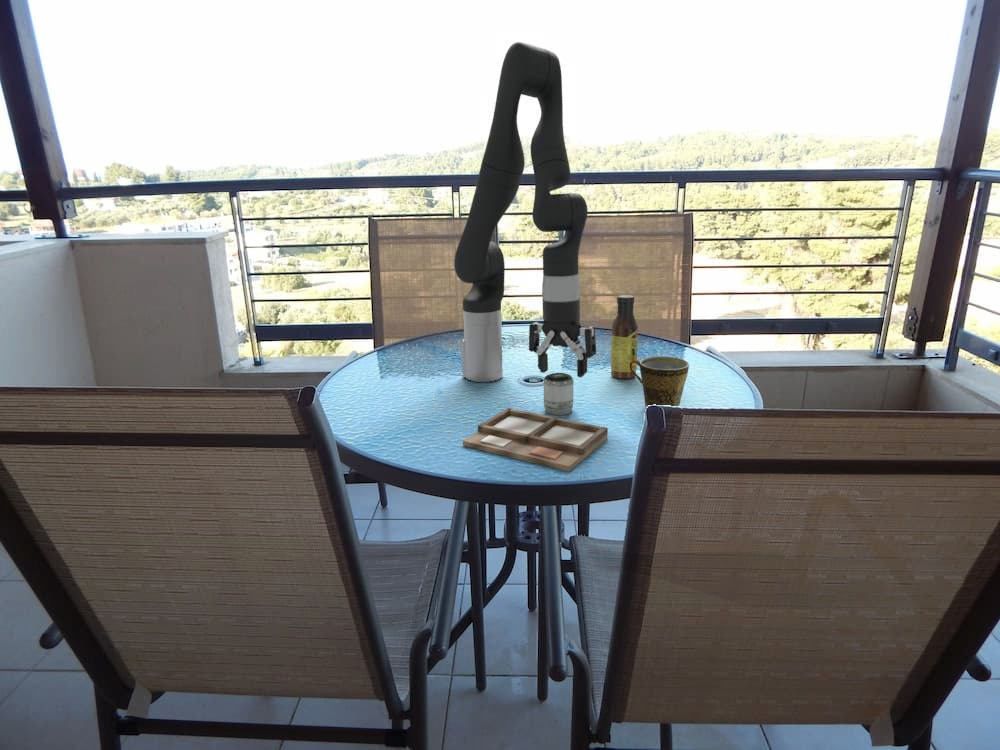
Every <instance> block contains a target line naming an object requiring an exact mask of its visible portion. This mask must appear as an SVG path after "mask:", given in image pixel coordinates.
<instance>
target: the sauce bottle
mask: <svg viewBox="0 0 1000 750" xmlns="http://www.w3.org/2000/svg"><path fill="white" fill-rule="evenodd" d="M616 303H617V311H616V312H617V315H616V317H615V319H614V320H613V322H612V327H611V328H612V330H611V333H612V334H611V349H610V350H611V351H610V370H611V371H610V374H611V376H612V377H613V378H615V379H623V380H625V379H626V380H628V379H632V378H635V377H636V376H635V375H634V374H633V373H632V372H631V370H630V363H631V362H632V361H634V360H638V346H639V345H638V338H639V328H638V324H637V321H636V318H635V315H634V303H635V296H634V295H629V294H621V295H617V297H616ZM637 367H638V365H637V364H636V363H633V364H632V369H633V370H634V372H635V373H636V374H637V370H638V369H637Z"/></svg>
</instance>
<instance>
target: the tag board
mask: <svg viewBox="0 0 1000 750" xmlns="http://www.w3.org/2000/svg"><path fill="white" fill-rule="evenodd" d="M608 430H609V429H608V427H606V426H600V425H595V424H590V423H584V422H580V421H575V420H569V419H565V418H559V417H555V416H549V415H544V414H539V413H536V412H530V411H529V412H528V411H526V410H525V411H524V410H520V409H515V408H509V407H508V408H505V409H504V410H502V411H500V412H499V413H497V414H496V415H494V416H492V417H490V418H488V419H487V420H485V421H484V422H482V423H480V424H478V425H477V431H476V432H475V433H473V434H472V435H470V436H468V437H467V438H464V439H463V440H462V446H464V447H468V448H472V449H474V450H475V449H476V450H479V451H484V452H488V453H490V454H496V455H499V456H504V457H508V458H512V459H516V460H521V461H524V462H529V463H532V464H536V465H540V466H545V467H548V468H549V467H550V468H552V469H557V470H561V471H566V472H568V473H569V472H571V471H572V470H573V469H575V468H576V467H577V466H578V465H580V463H582V462H583V460H584V459H586V458H587V457H588V456H589V455H591V453H593V452H594V451H595V450H596V449H597V448H598V447H600V446H601V445H602V444H603V443H604V442H606V440H608Z"/></svg>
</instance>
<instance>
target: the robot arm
mask: <svg viewBox="0 0 1000 750" xmlns="http://www.w3.org/2000/svg"><path fill="white" fill-rule="evenodd" d="M500 69H501V71H500V76H499V82H498V88H497V93H496V99H495V103H494V104H495V105H494V112H493V117H492V121H491V125H490V130H489V134H488V138H487V142H486V146H485V150H484V154H483V157H482V161H481V164H480V168H479V172H478V177H477V181H476V186H475V190H474V195H473V197H472V198H473V199H472V202H471V205H470V210H469V212H468V217H467V220H466V222H465V226H464V228H463V231H462V234H461V237H460V238H459V239H460V240H459V242H458V245H457V248H456V251H455V256H454V262H453V263H454V270H455V274H456V277H457V278H458V279H459V280H460V281H461V282H463V283H465V284H472V286H471V288H470V290H469V292H468V293H467V294H466V295H465V296H464V298H463V300H462V314H463V316H462V317H463V318H462V319H463V337H464V338H463V339H461V341H460V345H461V346H460V348H461V367H462V369H461V370H462V372H461V373H462V378H465V377H466V378H465V379H467V380H469V381H470V380H471V382H476V383H490V381H491V382H495V380H496V381H499V380H500V378H501V379H502V378H503V377H504V376H503V374H504V372H503V371H504V369H503V337H502V335H503V332H502V331H503V328H502V300H503V298H504V296H505V295H504V293H505V271H506V270H505V257H504V254H503V250H502V249H501V247H500V245H498V244H497V243H496V242H494V241H492V237H493V236H494V235H493V234H494V232H495V229H496V227H497V226H498V224H499V222H500V221H501V219H502V218H503V216H504V215H505V213H507V211H508V209H509V207H510V206H511V205H512V203H513V201H514V200H515V198H516V196H517V193H518V190H519V187H520V184H521V181H522V177H523V175H524V170H525V162H526V161H525V160H526V159H525V153H524V149H523V145H522V140H521V137H520V134H519V133H520V132H519V128H518V127H519V126H518V112H519V111H518V110H519V103H520V100H521V96H525V97H526V96H527V97H530V98H535V99H537V101H538V104H539V107H540V118H539V121H538V124H537V126H536V128H535V130H534V133H533V135H532V138H531V143H530V159H531V163H532V169H533V174H534V187H535V188H534V200H533V207H532V221H533V224H534V225H535V227H536V229H538V230H539V231H540V232H542V233H551V232H552V233H554V232H565V233H564V236H563V237H562V238H561V240H559V241H558V242H554V243H551V244H548V245H546V246H545V247H543V250H542V275H543V276H542V284H541V285H542V286H541V287H542V288H541V290H542V291H541V296H542V297H541V298H542V299H541V300H542V319H543V322H542V323H540V322H539V321H535V322H533V323H530V324H529V326H528V327H529V329H528V330H529V331H528V350H529V352H533V353H535V354H536V355H537V368H538V369H539V371H540V373H546V372H548V370H549V361H548V360H549V359H548V357H549V356H548V354H549V353H547V352H548V350H549V349H550V347H551V346H553V347H562V348H569V349H570V351H571V352H573V353H574V355H575V356H576V357H577V360H576V362H577V363H576V364H577V367H576V371H577V372H576V373H577V374H576V375H577V378H582V377H584V376H585V375H586V374H587V372H588V359H590V358H592V357H594V356H595V355H596V354H597V343H596V340H597V338H596V328H595V327H594V326H593V325H591V326H589V327H582V325H581V323H580V322H581V321H580V320H581V287H580V286H581V285H580V284H581V283H580V278H579V277H580V276H579V254H580V253H579V252H580V247H581V241H582V236H583V233H584V231H585V226H586V222H587V218H588V210H589V209H588V205H587V202H586V200H585V198H584V197H583V195H581V194H579V193H574V192H573V193H572V192H570V193H569V192H568V193H554V194H553V193H551V192H553V191H557V190H559V189H561V188H563V187H565V186H566V185H568V184H569V182H570V181H571V176H572V175H571V168H570V162H569V157H568V153H567V147H566V142H565V137H564V124H563V123H564V122H563V120H564V119H563V118H564V117H563V115H564V112H563V111H564V110H563V108H564V107H563V82H562V80H563V78H562V68H561V63H560V59H559V57H558V55H557V54H556V53H555V52H553V51H551V50H549V49H546V48H543V47H539V46H536V45H532V44H529V43H526V42H522V41H516V42H513V43H512V44H511V45H510V46H509V47H508V50H507V52H506V54H505V55H504V59H503V62H502V66H501V68H500ZM542 332H543V334H544V336H545V338H543V341H542V342H541V344H540V338H541V337H540V336H541V335H540V334H541V333H542ZM580 335H582V337H583V339H584V341H585V342H584V344H585V347H584V344H583V342H582V340H581V339H580V338H579V337H580ZM502 376H503V377H502ZM498 379H499V380H498Z"/></svg>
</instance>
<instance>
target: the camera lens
mask: <svg viewBox="0 0 1000 750" xmlns="http://www.w3.org/2000/svg"><path fill="white" fill-rule="evenodd" d="M574 382H575V381H574V378H573V376H572V375H570V374H567V373H565V372H553V373H549V374H547V375H546V376H544V378H543V405H544V406H543V407H544V409H545V410H544V411H545V412H546V413H547V414H550V415H554V416H564V415H569V414H570V413H572V410H573V407H574V384H575V383H574Z"/></svg>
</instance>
